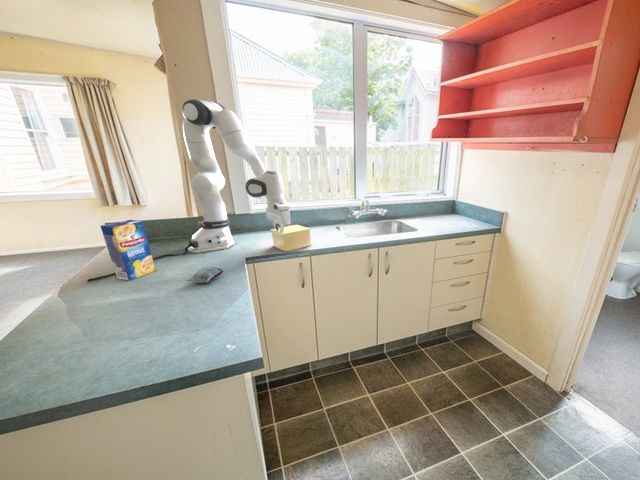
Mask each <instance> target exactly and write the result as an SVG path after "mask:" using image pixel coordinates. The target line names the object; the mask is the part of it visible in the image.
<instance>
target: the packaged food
mask: <svg viewBox="0 0 640 480" xmlns="http://www.w3.org/2000/svg"><path fill="white" fill-rule="evenodd" d="M223 272H224V269H223V268H221V267H217V266H206V267H202V268H201V269H199V270H198V271H196V272H195V273H194V274H192V275H191V276H190V277H189V278H188V279H185V281H186V282H189V283H190V282H191V283H196V284H197V283H198V284H210V283H212V282H213V281H214V280H216V279H217V278H218V277H220V276H221V275H222V274H223Z"/></svg>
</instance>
